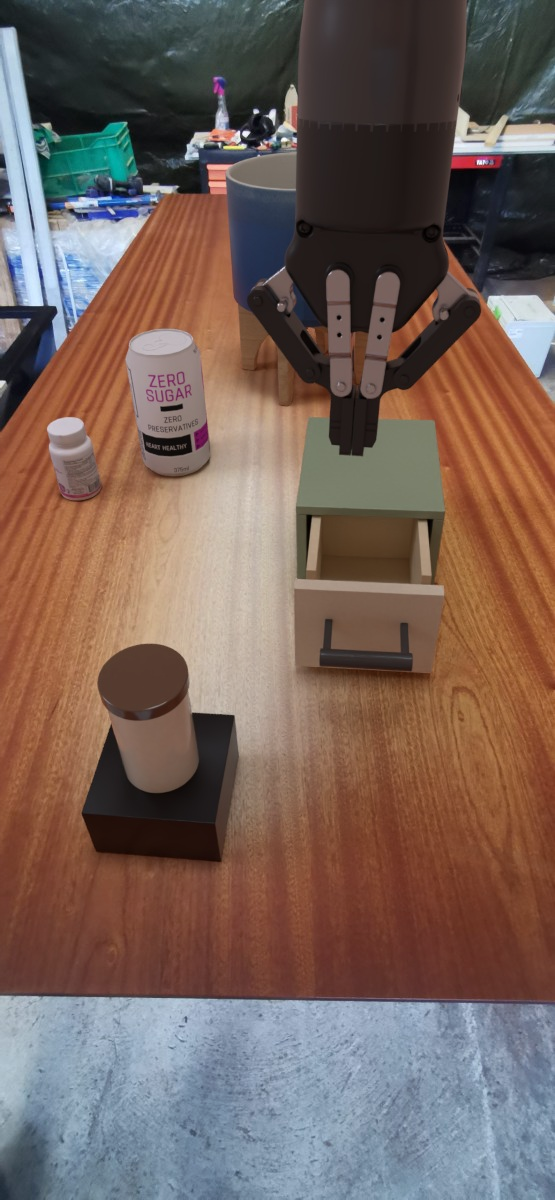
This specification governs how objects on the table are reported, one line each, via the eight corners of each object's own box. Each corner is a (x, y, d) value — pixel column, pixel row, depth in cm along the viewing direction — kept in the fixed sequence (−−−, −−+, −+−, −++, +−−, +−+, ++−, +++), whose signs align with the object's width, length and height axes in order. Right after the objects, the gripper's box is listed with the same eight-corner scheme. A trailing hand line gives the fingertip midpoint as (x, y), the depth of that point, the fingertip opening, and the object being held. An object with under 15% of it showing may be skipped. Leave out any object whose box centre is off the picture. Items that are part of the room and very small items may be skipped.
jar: (208, 731, 53) (195, 645, 47) (194, 798, 49) (178, 713, 43) (132, 726, 54) (110, 640, 48) (112, 793, 50) (85, 707, 44)
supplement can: (185, 436, 94) (170, 320, 84) (224, 462, 90) (213, 342, 80) (131, 459, 91) (109, 340, 81) (168, 487, 86) (150, 364, 76)
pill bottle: (57, 484, 87) (40, 420, 81) (97, 475, 88) (83, 411, 83) (64, 505, 84) (46, 440, 78) (105, 496, 85) (91, 431, 79)
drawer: (434, 717, 59) (449, 639, 53) (290, 708, 60) (288, 631, 54) (423, 563, 73) (433, 488, 67) (306, 558, 74) (306, 484, 68)
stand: (238, 754, 58) (234, 714, 54) (221, 861, 51) (215, 823, 48) (127, 747, 59) (116, 707, 55) (95, 851, 52) (80, 813, 49)
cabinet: (431, 604, 70) (445, 511, 63) (297, 598, 71) (295, 506, 64) (423, 507, 82) (434, 419, 74) (308, 503, 83) (308, 416, 76)
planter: (265, 341, 116) (258, 148, 98) (385, 355, 111) (400, 154, 93) (218, 396, 102) (199, 184, 85) (352, 415, 97) (362, 194, 80)
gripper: (221, 112, 32) (233, 469, 43) (530, 118, 31) (465, 488, 41) (253, 103, 38) (256, 419, 49) (513, 107, 37) (460, 433, 47)
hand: (352, 450), depth 45 cm, fingers closed
